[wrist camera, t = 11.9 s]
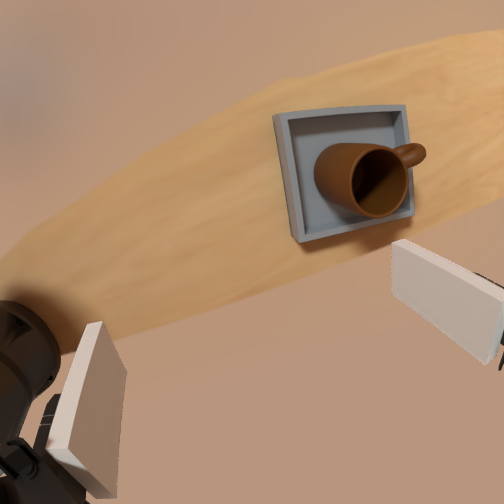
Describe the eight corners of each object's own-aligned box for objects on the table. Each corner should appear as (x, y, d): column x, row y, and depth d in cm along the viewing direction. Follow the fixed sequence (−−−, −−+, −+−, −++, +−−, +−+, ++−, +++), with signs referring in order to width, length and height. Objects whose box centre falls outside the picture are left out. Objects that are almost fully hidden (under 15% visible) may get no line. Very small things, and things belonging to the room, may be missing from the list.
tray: (291, 236, 40) (299, 243, 37) (272, 115, 34) (279, 113, 32) (402, 210, 42) (414, 215, 39) (392, 106, 36) (405, 104, 34)
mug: (376, 118, 36) (422, 116, 27) (397, 170, 39) (444, 180, 30) (300, 160, 36) (335, 165, 27) (327, 214, 39) (365, 234, 30)
